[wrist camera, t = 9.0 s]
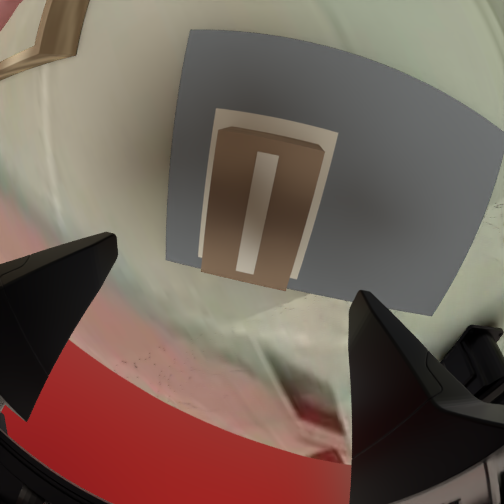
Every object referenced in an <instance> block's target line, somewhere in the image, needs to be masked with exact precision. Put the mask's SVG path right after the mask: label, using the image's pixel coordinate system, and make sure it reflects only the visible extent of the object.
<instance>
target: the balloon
mask: <svg viewBox="0 0 504 504" xmlns="http://www.w3.org/2000/svg"><path fill="white" fill-rule="evenodd" d="M21 2H22V0H0V31H1V30H2V28H3V27H4V26H5V24H6V23H7V22H8V20H9V19H10V17H11V16H12V14H13V13H14V11H15V9H16V8H17V6H18V5H19V3H21Z"/></svg>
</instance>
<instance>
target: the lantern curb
mask: <svg viewBox="0 0 504 504" xmlns="http://www.w3.org/2000/svg"><path fill="white" fill-rule="evenodd" d="M88 3H89V0H47V1H46V4H45V7H44V10H43V14H42V17H41V21H40V24H39V28H38V32H37V36H36V41H35V45H34V46H33V47H30V48H28V49H26V50H24V51H21V52H19V53H17V54H15V55H13V56H11V57H9V58H7V59H5V60H3V61H1V62H0V80H2V79H5V78H7V77H9V76H12V75H14V74H17V73H19V72H22V71H25V70H28V69H30V68H33V67H36V66H39V65H42V64H46V63H49V62H52V61H56V60H59V59H63V58H67V57H71V56H75V55H76V52H77V47H78V42H79V37H80V33H81V29H82V25H83V21H84V17H85V13H86V10H87V6H88Z"/></svg>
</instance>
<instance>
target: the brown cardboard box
mask: <svg viewBox="0 0 504 504" xmlns="http://www.w3.org/2000/svg"><path fill="white" fill-rule="evenodd" d="M324 154H325V151H324V150H323V149H322V148H321V146H320V145H319V144H315V143H311V142H307V141H303V140H299V139H295V138H290V137H286V136H281V135H276V134H272V133H267V132H261V131H256V130H251V129H245V128H239V127H233V126H231V127H227V128H223V129H219V130H218V134H217V141H216V147H215V154H214V161H213V168H212V175H211V183H210V191H209V199H208V207H207V216H206V225H205V234H204V244H203V254H202V265H201V272H205V273H209V274H213V275H217V276H221V277H225V278H230V279H234V280H238V281H242V282H247V283H251V284H256V285H260V286H264V287H269V288H273V289H278V290H283V291H286V288H287V285H288V282H289V279H290V275H291V272H292V269H293V266H294V262H295V259H296V256H297V252H298V249H299V246H300V242H301V239H302V235H303V232H304V228H305V225H306V221H307V218H308V214H309V211H310V207H311V204H312V200H313V196H314V193H315V189H316V185H317V181H318V177H319V174H320V170H321V166H322V162H323V158H324Z"/></svg>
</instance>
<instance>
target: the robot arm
mask: <svg viewBox="0 0 504 504" xmlns="http://www.w3.org/2000/svg"><path fill="white" fill-rule="evenodd" d="M117 256H118V248H117V237H116V235H115V234H113V233H109V232H104V233H100V234H96V235H93V236H89V237H86V238H82V239H79V240H76V241H72V242H69V243H65V244H62V245H59V246H56V247H52V248H49V249H46V250H43V251H40V252H37V253H34V254H31V256H30V255H28V256H25V257H22V258H19V259H15V260H12V261H9V262H6V263H3V264H0V504H112V503H110V502H108V501H106V500H104V499H102V498H100V497H98V496H96V495H94V494H92V493H90V492H88V491H86V490H85V489H83V488H81V487H79V486H78V485H76V484H74V483H72V482H71V481H69V480H67V479H66V478H64V477H63V476H61V475H59V474H58V473H56V472H55V471H53V470H52V469H50V468H49V467H48V466H46V465H45V464H43V463H42V462H40V461H39V460H38V459H36V458H35V457H34V456H32V455H31V454H30V453H28V452H27V451H26V450H25V449H23V448H22V447H21V446H20V445H19V444H17V443H16V442H15V441H14V440H12V439H11V438H10V437H9V436H8V434H7V429H6V423H5V417H4V415H3V414H2V413H1V410H2V409H3V407H4V405H6V406H8V407H9V408H10V409H11V410H12V411H13V412H15V413H16V414H17V415H18V416H19V417H21V418H22V419H23V420H24V421H26V422H27V421H28V419H29V417H30V414H31V412H32V410H33V408H34V405H35V403H36V401H37V399H38V397H39V394H40V392H41V390H42V388H43V386H44V384H45V382H46V380H47V378H48V375H49V374H50V372H51V370H52V368H53V366H54V364H55V363H56V361H57V359H58V357H59V355H60V354H61V352H62V350H63V348H64V346H65V345H66V343H67V341H68V339H69V338H70V336H71V334H72V333H73V331H74V329H75V328H76V326H77V324H78V323H79V321H80V319H81V318H82V316H83V315H84V313H85V311H86V310H87V308H88V307H89V305H90V304H91V302H92V301H93V299H94V298H95V296H96V295H97V293H98V291H99V290H100V288H101V286H102V285H103V283H104V281H105V279H106V277H107V275H108V274H109V272H110V270H111V268H112V266H113V265H114V263H115V261H116V259H117ZM503 333H504V332H503V330H502V329H501V328H494V327H486V326H479V325H470V326H468V327H467V329H466V330H465V331H464V333H463V334H462V335H461V337H460V338H459V339H458V341H457V342H456V343H455V345H454V346H453V347H452V349H451V350H450V351H449V352H448V353H447V355H446V356H445V357H444V358H443V360H442V361H441V362H439V361H438V360H437V359H436V358H435V357H434V356H433V355H432V354H431V353H430V352H429V351H428V350H427V348H426V347H425V346H424V345H423V344H422V343H421V342H420V341H419V340H418V339H417V338H416V337H415V336H414V335H413V334H412V333H411V332H410V331H409V330H408V329H407V328H406V327H405V326H404V325H403V324H402V322H401V321H400V320H399V319H398V318H397V317H396V316H395V315H394V314H393V313H392V312H391V311H390V310H389V309H388V308H387V307H386V306H385V305H383V304H382V303H381V302H380V301H379V300H378V299H377V298H376V297H375V296H374V295H373V294H372V293H371V292H370V291H366V290H359V291H358V292H357V294H356V296H355V298H354V300H353V302H352V304H351V307H350V309H349V337H348V352H349V366H350V382H351V403H352V468H351V489H350V490H351V491H350V503H349V504H504V357H503V355H502V353H501V351H500V349H499V347H498V345H497V341H498V340H499V339H500V337H501V336H502V335H503Z"/></svg>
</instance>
